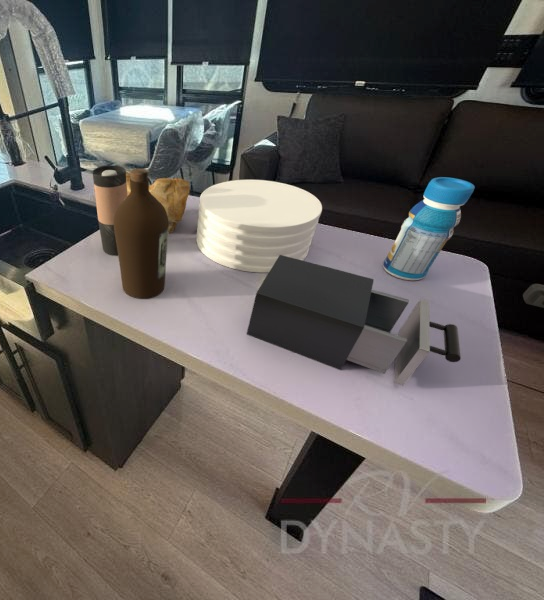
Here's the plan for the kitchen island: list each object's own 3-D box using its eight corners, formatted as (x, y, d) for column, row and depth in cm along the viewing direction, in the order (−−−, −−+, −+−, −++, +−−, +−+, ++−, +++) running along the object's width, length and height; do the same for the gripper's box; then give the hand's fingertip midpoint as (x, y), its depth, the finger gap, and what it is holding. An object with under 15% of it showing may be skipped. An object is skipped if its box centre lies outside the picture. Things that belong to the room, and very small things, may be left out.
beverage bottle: (396, 283, 71) (448, 192, 58) (373, 261, 77) (415, 176, 64) (434, 280, 71) (494, 190, 58) (408, 259, 77) (457, 174, 65)
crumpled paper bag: (208, 224, 96) (214, 171, 88) (176, 243, 85) (179, 185, 77) (146, 208, 108) (146, 160, 100) (111, 223, 97) (108, 170, 89)
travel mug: (136, 245, 87) (132, 168, 74) (120, 259, 82) (112, 178, 69) (113, 238, 90) (105, 163, 77) (96, 251, 85) (84, 173, 72)
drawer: (435, 344, 56) (463, 310, 51) (437, 399, 48) (470, 364, 43) (317, 307, 64) (330, 274, 59) (302, 348, 56) (316, 314, 51)
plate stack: (332, 263, 77) (350, 217, 70) (220, 280, 73) (227, 234, 66) (272, 213, 99) (281, 175, 91) (183, 225, 95) (185, 185, 87)
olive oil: (115, 299, 69) (102, 181, 54) (124, 271, 78) (115, 161, 62) (165, 302, 68) (167, 182, 52) (169, 273, 76) (171, 162, 60)
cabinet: (352, 320, 62) (373, 279, 56) (340, 370, 54) (364, 327, 47) (269, 294, 69) (279, 254, 63) (246, 334, 60) (256, 292, 54)
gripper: (762, 283, 35) (538, 242, 42) (868, 368, 26) (566, 298, 34) (689, 332, 40) (500, 288, 47) (759, 418, 31) (516, 347, 39)
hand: (528, 293), depth 41 cm, fingers closed
